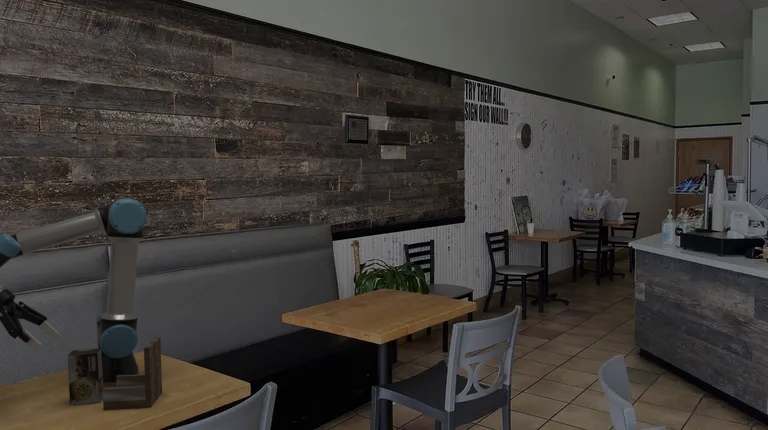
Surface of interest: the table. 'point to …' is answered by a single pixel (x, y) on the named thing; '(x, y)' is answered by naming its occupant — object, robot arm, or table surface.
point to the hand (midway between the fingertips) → (48, 342)
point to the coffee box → (85, 376)
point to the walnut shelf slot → (138, 383)
